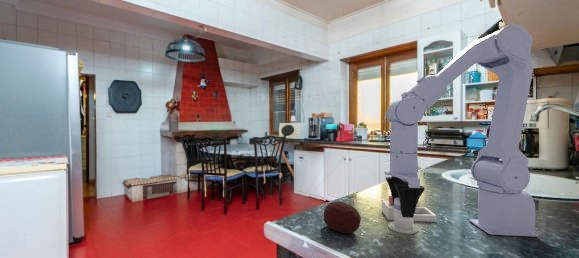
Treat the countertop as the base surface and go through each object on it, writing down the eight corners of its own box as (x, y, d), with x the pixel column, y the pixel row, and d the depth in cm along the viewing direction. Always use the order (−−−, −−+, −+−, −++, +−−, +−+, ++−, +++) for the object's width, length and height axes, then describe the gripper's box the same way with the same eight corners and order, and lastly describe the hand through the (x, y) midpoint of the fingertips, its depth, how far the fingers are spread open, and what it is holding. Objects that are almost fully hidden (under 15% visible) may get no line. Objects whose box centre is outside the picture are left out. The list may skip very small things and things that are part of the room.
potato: (341, 220, 64) (341, 195, 64) (370, 236, 54) (370, 207, 54) (315, 225, 61) (315, 199, 61) (341, 243, 51) (341, 212, 51)
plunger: (399, 210, 68) (399, 195, 68) (402, 214, 65) (402, 199, 65) (387, 209, 68) (387, 195, 68) (390, 213, 65) (390, 198, 65)
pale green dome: (412, 223, 62) (412, 221, 62) (423, 234, 55) (423, 232, 55) (384, 222, 62) (384, 220, 62) (392, 233, 56) (392, 231, 56)
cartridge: (409, 223, 61) (409, 197, 61) (416, 230, 57) (417, 202, 57) (391, 222, 61) (391, 197, 61) (397, 229, 57) (397, 202, 57)
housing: (425, 212, 69) (425, 201, 69) (436, 221, 63) (436, 209, 62) (382, 211, 70) (382, 200, 70) (388, 219, 64) (388, 207, 64)
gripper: (378, 149, 66) (377, 201, 66) (394, 156, 52) (393, 223, 52) (407, 149, 65) (406, 202, 66) (431, 156, 51) (430, 225, 51)
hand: (403, 212), depth 59 cm, fingers open, 6 cm apart
